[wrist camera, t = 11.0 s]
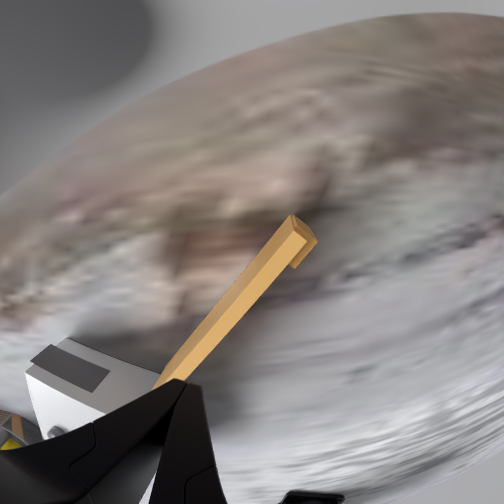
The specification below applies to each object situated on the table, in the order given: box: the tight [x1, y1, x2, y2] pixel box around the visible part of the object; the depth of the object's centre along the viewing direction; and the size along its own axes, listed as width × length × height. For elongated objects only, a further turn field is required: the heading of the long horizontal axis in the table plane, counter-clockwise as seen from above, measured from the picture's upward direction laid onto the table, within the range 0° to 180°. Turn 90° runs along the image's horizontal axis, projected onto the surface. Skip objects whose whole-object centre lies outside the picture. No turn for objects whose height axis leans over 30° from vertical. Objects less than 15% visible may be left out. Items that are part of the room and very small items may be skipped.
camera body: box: [25, 338, 161, 440], centre depth 20 cm, size 12×8×7 cm, turn 77°
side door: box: [152, 214, 318, 390], centre depth 17 cm, size 15×1×6 cm, turn 142°
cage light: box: [0, 410, 45, 450], centre depth 26 cm, size 15×8×30 cm
